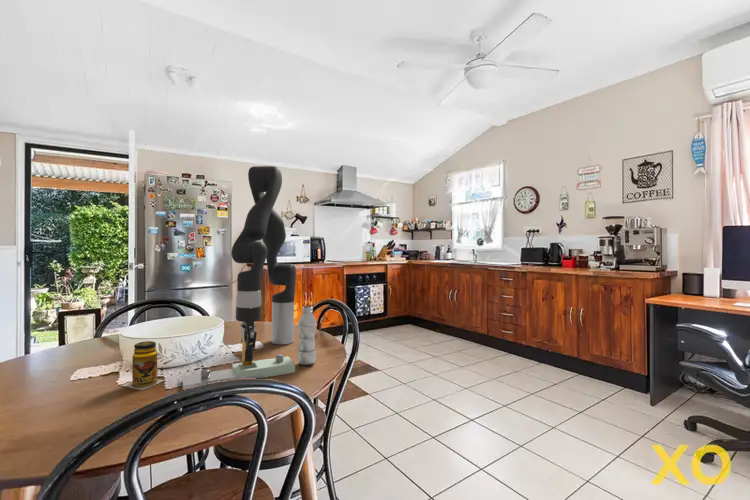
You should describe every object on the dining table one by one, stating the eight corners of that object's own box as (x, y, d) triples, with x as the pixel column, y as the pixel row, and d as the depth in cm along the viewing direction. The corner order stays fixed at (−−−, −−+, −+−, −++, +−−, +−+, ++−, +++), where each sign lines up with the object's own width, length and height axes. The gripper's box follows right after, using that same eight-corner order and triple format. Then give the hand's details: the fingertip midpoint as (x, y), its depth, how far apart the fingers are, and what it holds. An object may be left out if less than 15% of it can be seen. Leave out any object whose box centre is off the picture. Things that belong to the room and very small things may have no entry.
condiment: (142, 390, 98) (142, 347, 98) (120, 386, 101) (120, 344, 101) (165, 381, 105) (165, 341, 105) (143, 377, 108) (144, 338, 107)
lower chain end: (182, 380, 105) (182, 369, 105) (258, 369, 116) (258, 358, 116) (182, 390, 98) (183, 378, 98) (263, 377, 109) (263, 366, 109)
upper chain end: (232, 373, 112) (232, 357, 112) (287, 364, 121) (288, 350, 121) (236, 382, 105) (236, 365, 105) (294, 372, 114) (295, 357, 114)
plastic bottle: (318, 361, 126) (319, 305, 125) (312, 367, 119) (314, 309, 119) (300, 360, 126) (301, 304, 126) (294, 366, 119) (295, 308, 119)
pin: (241, 363, 111) (241, 335, 111) (251, 362, 113) (252, 334, 113) (242, 366, 108) (243, 337, 108) (253, 365, 110) (254, 336, 110)
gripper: (232, 302, 115) (231, 354, 115) (239, 309, 103) (238, 368, 103) (256, 300, 118) (255, 351, 119) (266, 307, 106) (264, 364, 106)
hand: (247, 359), depth 111 cm, fingers closed on pin, 3 cm apart
